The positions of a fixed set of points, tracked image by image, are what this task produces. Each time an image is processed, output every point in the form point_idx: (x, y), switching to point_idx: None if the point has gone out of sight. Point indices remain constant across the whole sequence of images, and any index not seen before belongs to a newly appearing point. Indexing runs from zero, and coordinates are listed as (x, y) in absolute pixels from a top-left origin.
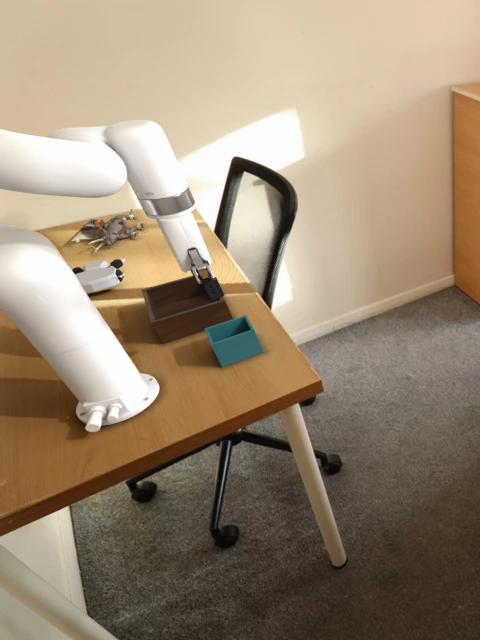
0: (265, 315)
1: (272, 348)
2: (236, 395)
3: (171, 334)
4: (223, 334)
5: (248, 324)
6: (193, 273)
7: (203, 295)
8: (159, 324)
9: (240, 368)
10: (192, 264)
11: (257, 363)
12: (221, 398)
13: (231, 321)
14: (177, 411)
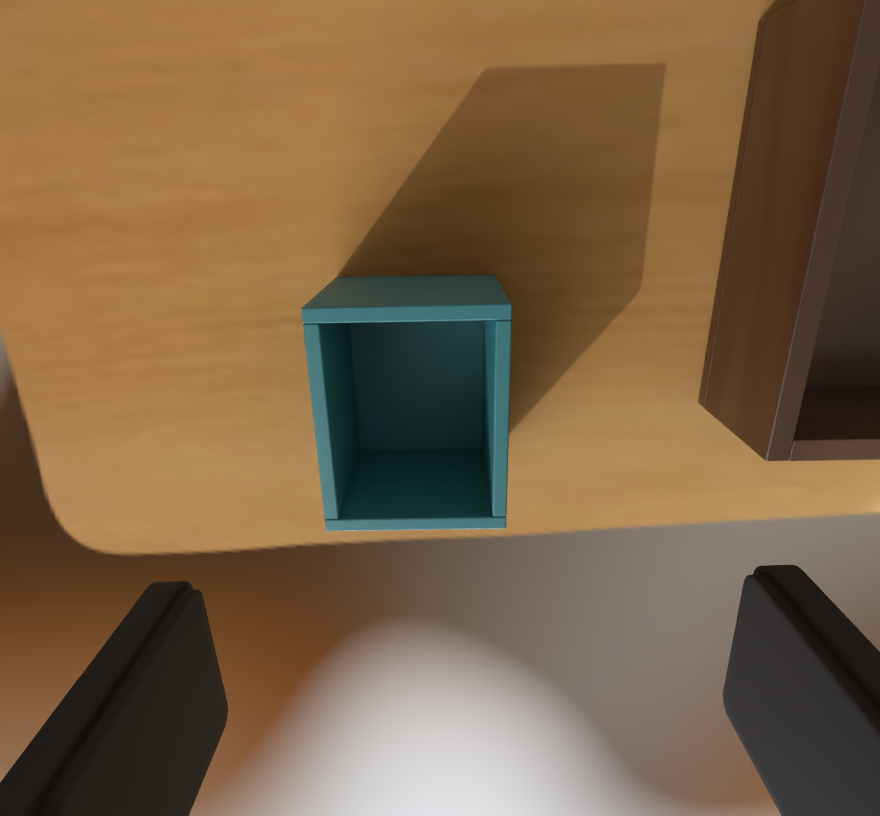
0: (637, 525)
1: None
2: (95, 290)
3: (772, 84)
4: (489, 363)
5: (400, 518)
6: (786, 627)
7: (108, 642)
8: (839, 25)
9: (287, 346)
10: (868, 776)
11: (285, 415)
12: (101, 227)
13: (493, 451)
14: (85, 9)
